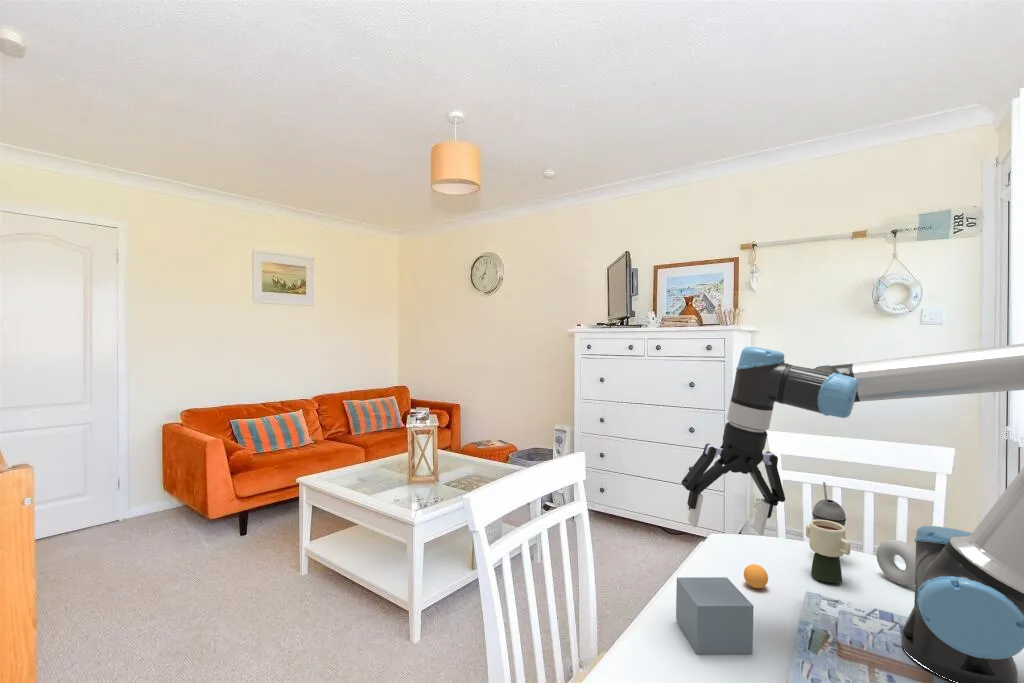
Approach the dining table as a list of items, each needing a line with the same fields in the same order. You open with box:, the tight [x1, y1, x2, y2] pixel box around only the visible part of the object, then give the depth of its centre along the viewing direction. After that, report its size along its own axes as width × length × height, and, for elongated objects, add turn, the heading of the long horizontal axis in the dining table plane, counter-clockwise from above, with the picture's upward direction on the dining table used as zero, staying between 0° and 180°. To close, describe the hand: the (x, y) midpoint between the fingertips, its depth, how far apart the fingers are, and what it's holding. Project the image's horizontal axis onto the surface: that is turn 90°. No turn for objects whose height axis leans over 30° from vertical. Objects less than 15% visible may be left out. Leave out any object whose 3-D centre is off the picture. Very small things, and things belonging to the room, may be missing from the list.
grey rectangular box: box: [675, 576, 754, 656], centre depth 92 cm, size 10×10×9 cm
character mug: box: [805, 519, 851, 583], centre depth 115 cm, size 11×7×13 cm, turn 19°
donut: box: [876, 539, 916, 587], centre depth 113 cm, size 10×3×10 cm, turn 18°
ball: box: [743, 563, 769, 589], centre depth 111 cm, size 5×5×5 cm
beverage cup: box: [812, 481, 847, 559], centre depth 124 cm, size 7×7×20 cm
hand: (725, 527), depth 97 cm, fingers open, 13 cm apart
